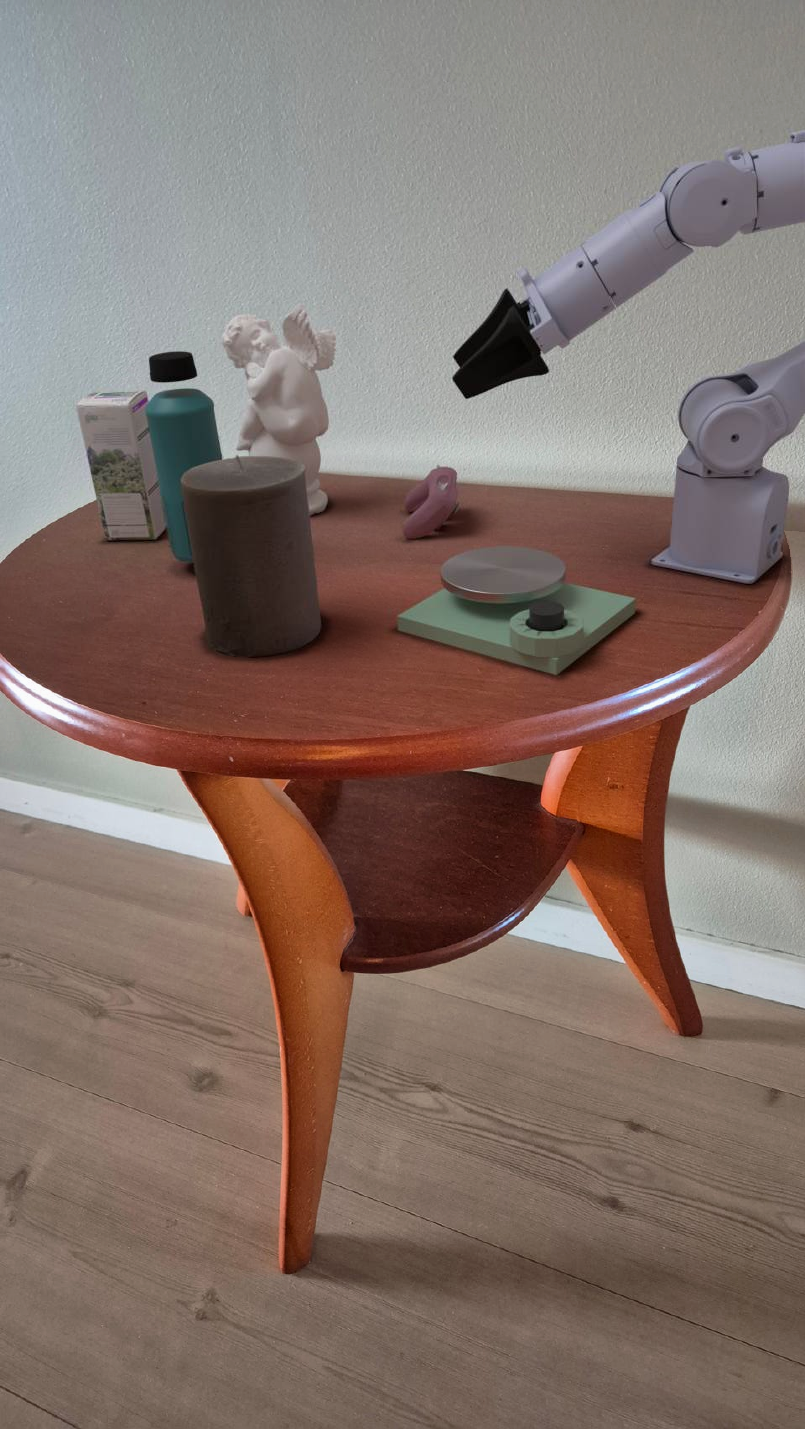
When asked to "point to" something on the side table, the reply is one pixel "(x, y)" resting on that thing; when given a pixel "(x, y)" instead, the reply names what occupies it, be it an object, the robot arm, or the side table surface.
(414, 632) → the scale
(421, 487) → the video game controller
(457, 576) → the scale pan
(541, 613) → the tare button
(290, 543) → the pillar candle
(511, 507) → the side table surface
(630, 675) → the side table surface
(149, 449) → the syrup box
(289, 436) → the cherub figurine
